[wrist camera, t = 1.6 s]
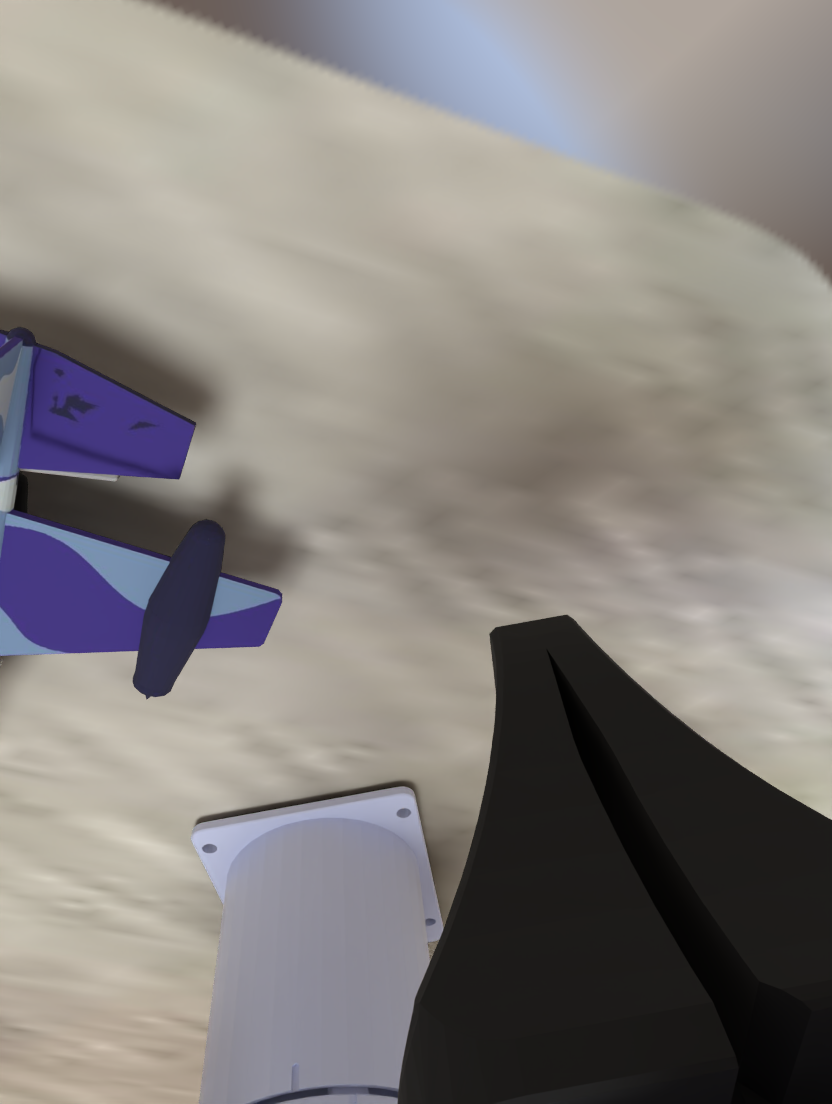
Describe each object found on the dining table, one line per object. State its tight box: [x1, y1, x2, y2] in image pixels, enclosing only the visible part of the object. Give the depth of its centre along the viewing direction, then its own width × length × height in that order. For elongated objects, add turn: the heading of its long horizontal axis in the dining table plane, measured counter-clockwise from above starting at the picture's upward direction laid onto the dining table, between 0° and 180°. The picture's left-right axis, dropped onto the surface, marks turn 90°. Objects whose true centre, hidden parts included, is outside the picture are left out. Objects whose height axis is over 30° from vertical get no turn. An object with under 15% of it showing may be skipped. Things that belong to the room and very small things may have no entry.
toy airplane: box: [0, 327, 282, 699], centre depth 18 cm, size 13×14×4 cm
